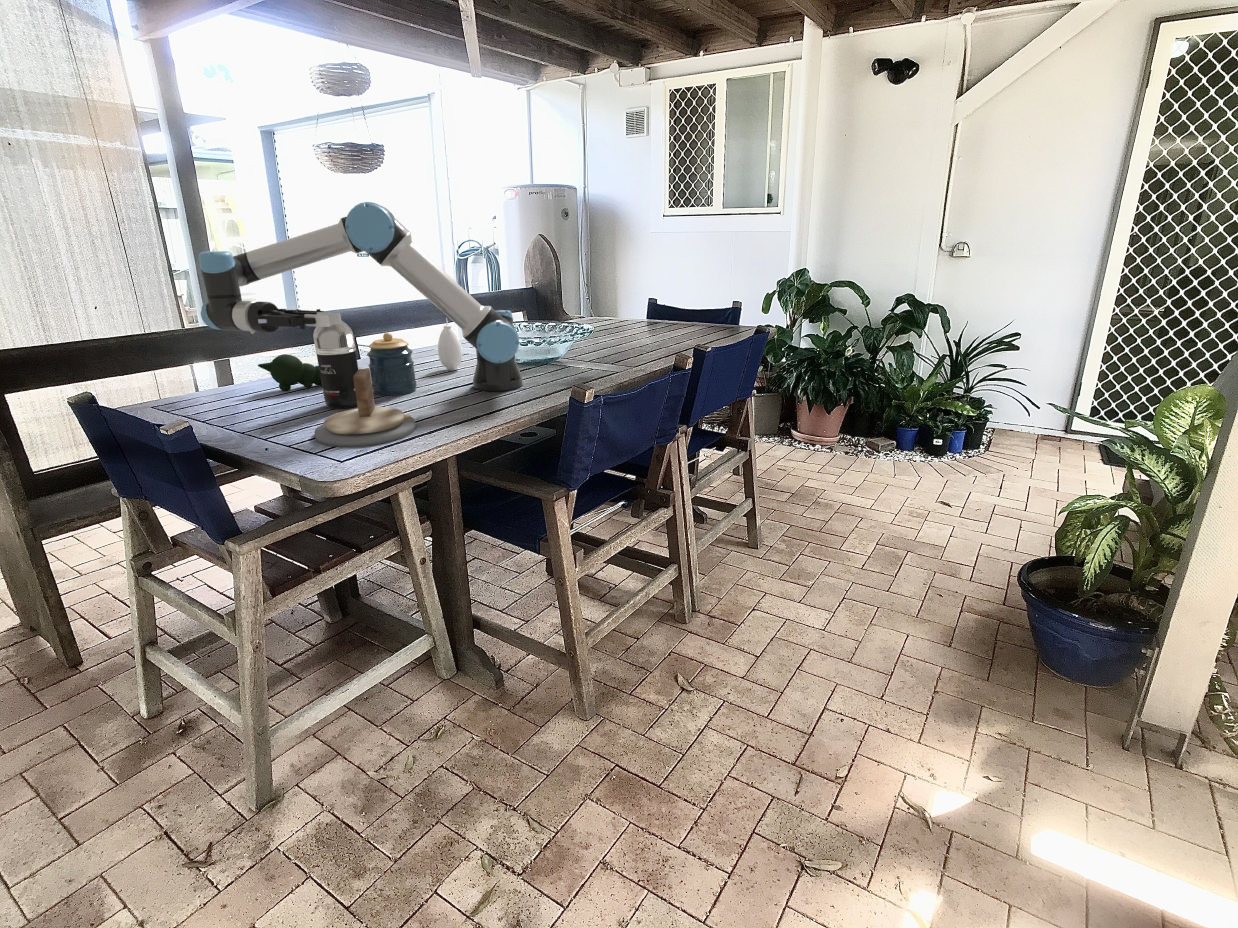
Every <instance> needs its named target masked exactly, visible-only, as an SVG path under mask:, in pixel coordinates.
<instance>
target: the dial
mask: <svg viewBox="0 0 1238 928" xmlns="http://www.w3.org/2000/svg"><path fill="white" fill-rule="evenodd" d="M353 380H354V386H355V393H356V399H357V405H358V406H357V408H354V409H353V408H352V409H349V410H344V411H340V412H336V413H334V414H332V415H329V416H327V417H326V418H325V419H324V420H323V421H324V423H325V428H326V430H327V431H329V432H332V433H338V434H364V433H372V432H378V431H383V430H387V429H390V428H393V427H396V426H398V425H400V424H401V423H402V422H403V421H404V415H405V414H404V412H403V411H402V410H401V409H398V408H394V407H387V406H386V407H384V406H381V407H380V406H376V404H375V398H374V392H373V389H372V381H371V375H370V368H358V371H357V372H356V374H355V375H354V376H353ZM324 423H323V424H324Z"/></svg>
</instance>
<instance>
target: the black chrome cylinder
mask: <svg viewBox="0 0 1238 928" xmlns="http://www.w3.org/2000/svg"><path fill="white" fill-rule="evenodd" d="M341 321H342V324H340V325H338V324H330V327H317V326H315V329H314V330H313V334H312V335H313V337H312V338H313V343H314V347H315V349H314V350H315V354H316V359H317V366H319V371H320V377H321V383H322V387H321V388H322V393H323V399H324V404H325V405H326V407H328V408H330V409H335V410H342V409H344V410H345V409H352V408H355V407H358V405H357V399H356V393H355V386H354V380H353V376H354V375H355V374H356V372H357V371H358V370H359V363H358V358H357V352H356V351H357V348H356V345H355V337H354V333H353V330H352V328H351V327H350V326H349V325H348V324H347V323H346V322H344V321H343V320H342V319H341Z"/></svg>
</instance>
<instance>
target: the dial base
mask: <svg viewBox="0 0 1238 928" xmlns="http://www.w3.org/2000/svg"><path fill="white" fill-rule="evenodd" d="M416 427H417V425H416V420H415V418H414V417H412V415H411V414H408V415H407V414H404V421H403V422H402V423H401V424H400V425H398V426H396V427H393V428H390V429H387V430H383V431H378V432H372V433H364V434H338V433H332V432H329V431H327V430H326V428H325V423H321V425H319V426H317V427H316V428H315V430H314V438H315V441H316V442H318V443H319V444H322V445H323V446H324V445H325V446H329V447H337V448H358V447H367V446H369V447H370V446H374V445H381V444H385V443H390V442H394V441H397V440H398V441H399V440H400V439H403V438H405V437H407V436H409V435H411V434H412V433H413V432H414V431H416V429H417V428H416Z"/></svg>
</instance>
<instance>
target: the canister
mask: <svg viewBox="0 0 1238 928" xmlns="http://www.w3.org/2000/svg"><path fill="white" fill-rule="evenodd" d="M409 344H410V343H409V342H408V341H405V340H404V339H403V338H399V337H398V338H396V337H395V338H393V334H392V333H390V332H384V333H383V336H382V338H381V339H376V340H373V341H372V343H370V344H368V347H369V348H370V350H369V351H368V352H367V353H366V356H367V357H368V359H369V364H368V369H370V376H371V383H372V389H373V394H375V395H377V396H400V395H405V394H410V393H412V392H415V391H416V390H417V380H416V375H415V366H414V364H415V363H414V360H413V359H412V353H413V350H412V349H411V348H409V347H408V346H409Z"/></svg>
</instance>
